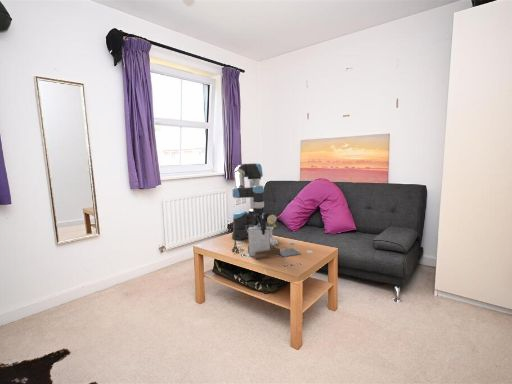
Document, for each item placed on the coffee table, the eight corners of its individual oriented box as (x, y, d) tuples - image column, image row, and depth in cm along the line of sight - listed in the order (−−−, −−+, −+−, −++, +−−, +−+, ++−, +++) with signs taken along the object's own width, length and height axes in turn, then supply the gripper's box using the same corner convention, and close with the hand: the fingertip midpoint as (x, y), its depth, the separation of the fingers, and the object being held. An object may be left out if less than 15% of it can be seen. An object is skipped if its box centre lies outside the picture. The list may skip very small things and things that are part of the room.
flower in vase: (261, 243, 221) (260, 213, 218) (271, 241, 228) (271, 211, 224) (271, 248, 210) (270, 216, 207) (282, 244, 217) (281, 214, 214)
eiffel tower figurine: (234, 256, 197) (233, 238, 195) (224, 253, 203) (223, 236, 202) (247, 250, 209) (246, 233, 207) (237, 247, 215) (236, 231, 213)
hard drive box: (270, 252, 200) (270, 226, 198) (270, 256, 193) (269, 229, 190) (249, 252, 202) (249, 226, 199) (248, 256, 194) (247, 229, 192)
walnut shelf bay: (248, 252, 203) (247, 245, 202) (270, 248, 209) (270, 242, 209) (256, 259, 187) (255, 252, 187) (280, 255, 194) (279, 248, 193)
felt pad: (276, 251, 202) (276, 251, 202) (292, 249, 207) (292, 248, 207) (283, 257, 191) (283, 256, 191) (300, 254, 196) (300, 253, 196)
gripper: (247, 205, 203) (248, 232, 205) (260, 210, 180) (261, 241, 182) (257, 204, 206) (258, 231, 208) (270, 209, 182) (271, 240, 185)
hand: (259, 236), depth 195 cm, fingers open, 13 cm apart
